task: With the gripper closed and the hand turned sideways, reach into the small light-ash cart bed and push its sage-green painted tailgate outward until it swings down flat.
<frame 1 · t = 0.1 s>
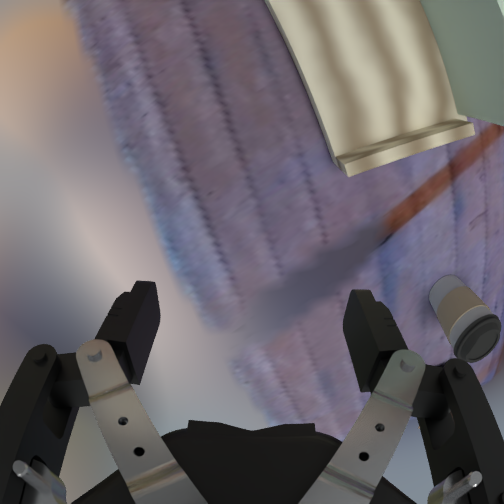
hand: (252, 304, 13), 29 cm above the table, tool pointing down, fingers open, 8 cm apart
tailgate: (471, 28, 20), point 10 cm above the table, hinge at 0.0°
coffee cup: (444, 290, 49), on the table
cart bed: (369, 47, 31), on the table
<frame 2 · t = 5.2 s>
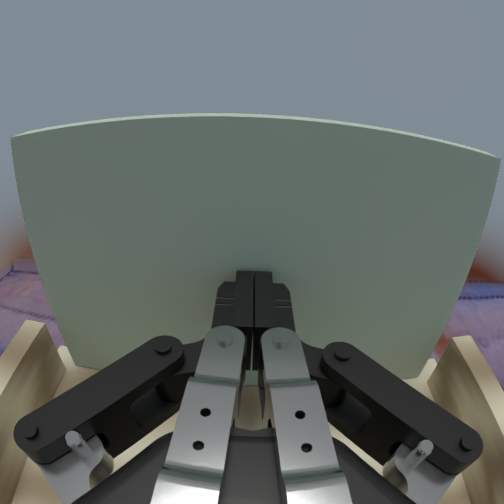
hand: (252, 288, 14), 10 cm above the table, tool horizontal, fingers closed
tailgate: (252, 273, 15), point 10 cm above the table, hinge at 0.0°, touching gripper
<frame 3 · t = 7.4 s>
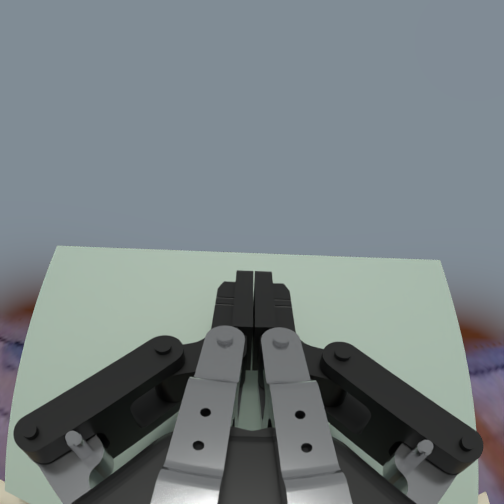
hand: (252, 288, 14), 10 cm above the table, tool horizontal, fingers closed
tailgate: (245, 400, 13), point 6 cm above the table, hinge at 64.7°, touching gripper
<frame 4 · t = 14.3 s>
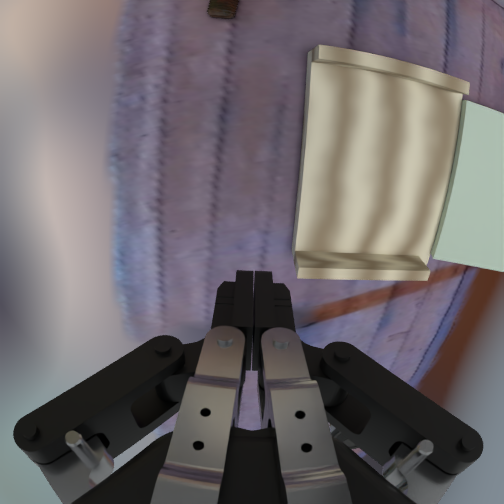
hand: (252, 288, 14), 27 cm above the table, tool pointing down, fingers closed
tailgate: (492, 192, 33), point 5 cm above the table, hinge at 75.7°
cart bed: (376, 163, 37), on the table
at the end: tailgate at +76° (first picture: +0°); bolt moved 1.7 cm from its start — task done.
